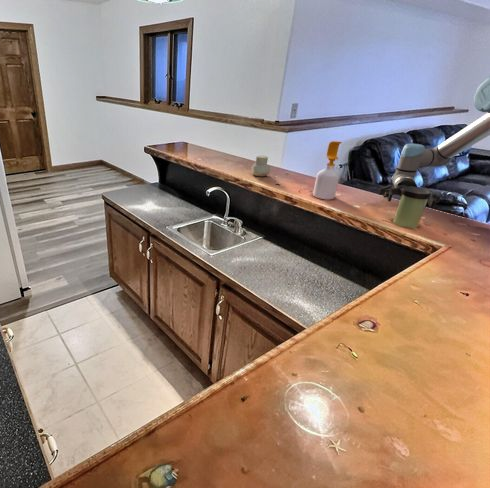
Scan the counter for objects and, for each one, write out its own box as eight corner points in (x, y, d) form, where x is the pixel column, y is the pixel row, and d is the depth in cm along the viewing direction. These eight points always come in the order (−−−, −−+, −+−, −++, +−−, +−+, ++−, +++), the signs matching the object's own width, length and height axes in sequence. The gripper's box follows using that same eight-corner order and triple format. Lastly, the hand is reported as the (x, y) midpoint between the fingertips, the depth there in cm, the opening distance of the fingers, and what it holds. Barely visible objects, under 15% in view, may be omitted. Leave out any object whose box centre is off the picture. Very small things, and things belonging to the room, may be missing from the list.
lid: (431, 194, 127) (433, 189, 126) (430, 201, 120) (432, 196, 119) (402, 189, 131) (403, 184, 131) (399, 195, 125) (401, 190, 124)
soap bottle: (314, 198, 154) (326, 142, 143) (311, 192, 162) (323, 138, 151) (335, 200, 153) (350, 143, 142) (332, 194, 160) (345, 139, 149)
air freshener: (269, 178, 183) (272, 159, 178) (253, 177, 183) (256, 158, 179) (265, 172, 193) (267, 154, 188) (250, 172, 193) (252, 154, 188)
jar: (418, 223, 131) (430, 191, 126) (417, 229, 126) (429, 196, 120) (394, 217, 136) (405, 186, 130) (391, 224, 130) (402, 191, 124)
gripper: (437, 199, 144) (447, 216, 127) (369, 190, 154) (370, 204, 137) (444, 181, 141) (455, 197, 124) (374, 173, 151) (376, 186, 134)
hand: (411, 201), depth 130 cm, fingers open, 13 cm apart
